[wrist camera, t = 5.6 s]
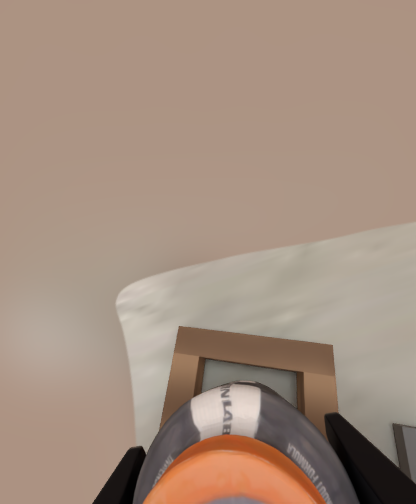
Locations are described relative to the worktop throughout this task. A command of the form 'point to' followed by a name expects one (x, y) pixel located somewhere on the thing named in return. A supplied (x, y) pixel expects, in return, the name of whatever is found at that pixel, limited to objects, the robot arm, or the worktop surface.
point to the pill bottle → (241, 454)
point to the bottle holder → (255, 354)
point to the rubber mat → (406, 449)
